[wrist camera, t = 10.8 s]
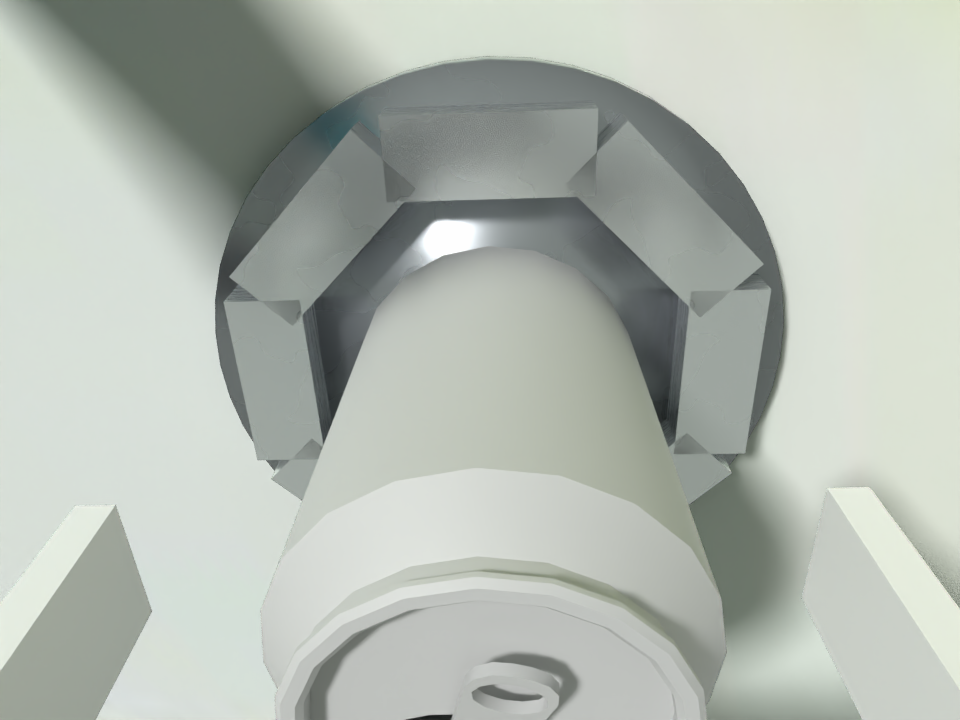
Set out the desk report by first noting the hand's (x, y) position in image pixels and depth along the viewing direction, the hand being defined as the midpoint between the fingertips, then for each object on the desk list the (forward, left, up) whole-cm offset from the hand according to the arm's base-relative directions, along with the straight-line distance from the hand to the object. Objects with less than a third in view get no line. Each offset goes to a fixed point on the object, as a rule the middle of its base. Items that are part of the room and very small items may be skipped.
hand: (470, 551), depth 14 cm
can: (0, 0, -8) cm, 8 cm away
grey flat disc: (0, 0, -9) cm, 9 cm away
